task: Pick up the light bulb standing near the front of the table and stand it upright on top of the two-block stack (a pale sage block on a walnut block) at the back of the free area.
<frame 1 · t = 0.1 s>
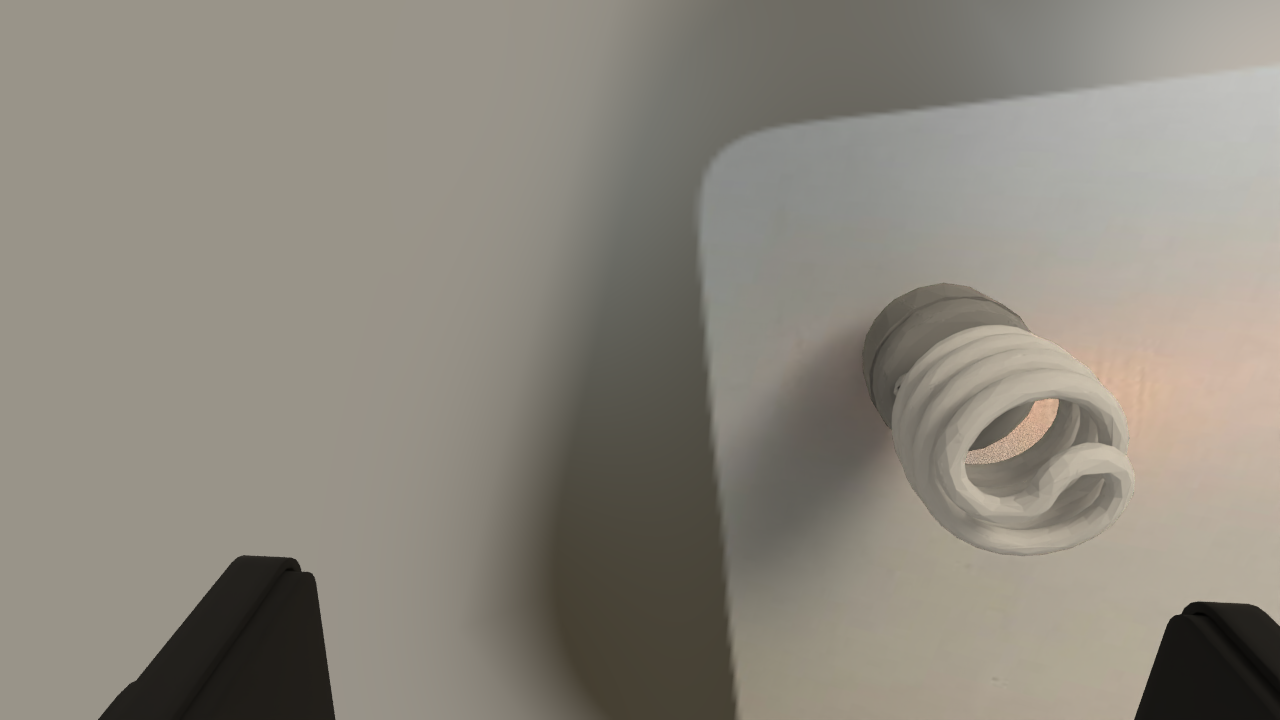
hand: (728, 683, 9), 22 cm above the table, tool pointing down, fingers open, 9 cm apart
light bulb: (913, 324, 31), on the table
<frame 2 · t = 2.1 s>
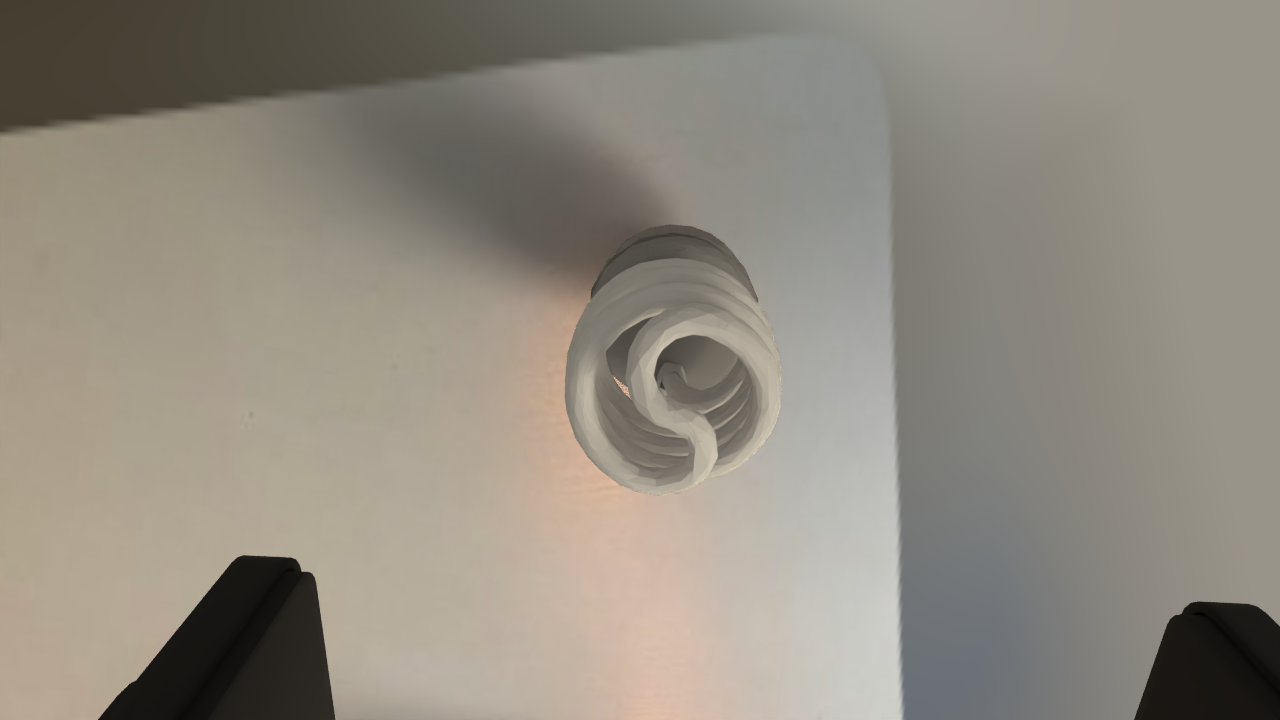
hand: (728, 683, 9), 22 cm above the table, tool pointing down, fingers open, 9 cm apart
light bulb: (673, 274, 30), on the table
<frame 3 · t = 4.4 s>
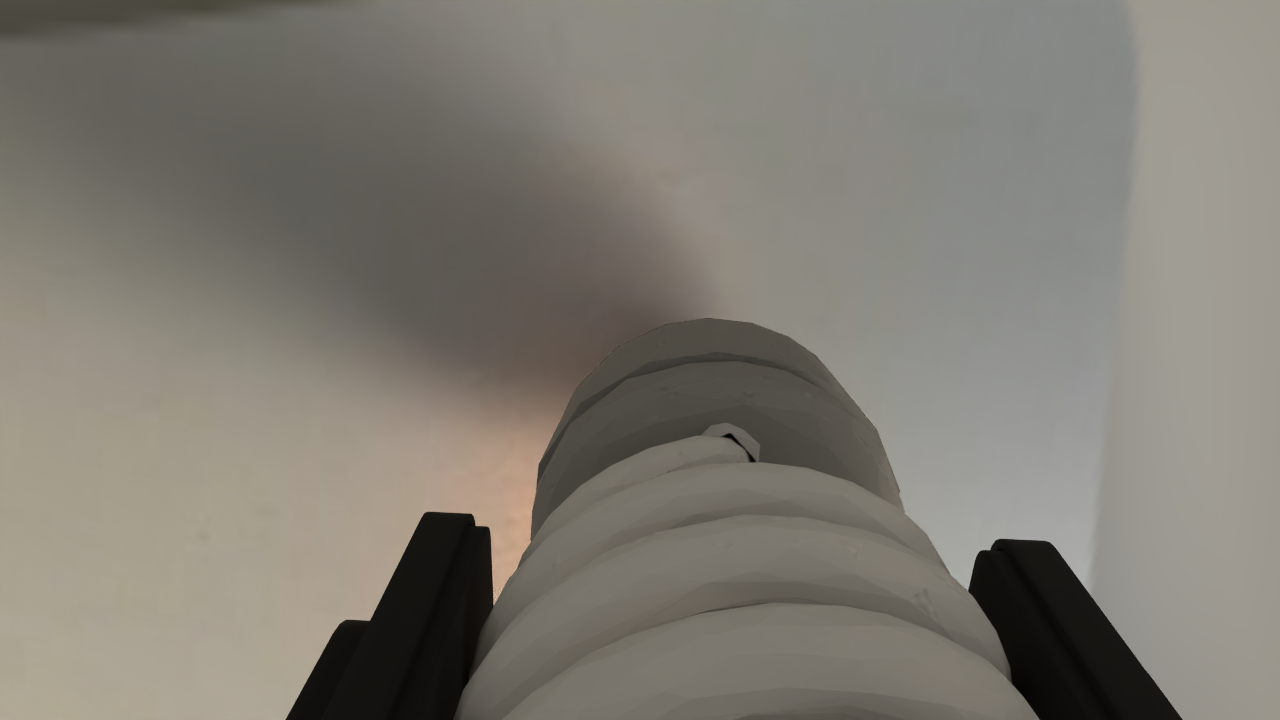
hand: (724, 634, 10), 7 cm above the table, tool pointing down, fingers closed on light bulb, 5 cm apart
light bulb: (702, 389, 16), on the table, touching gripper
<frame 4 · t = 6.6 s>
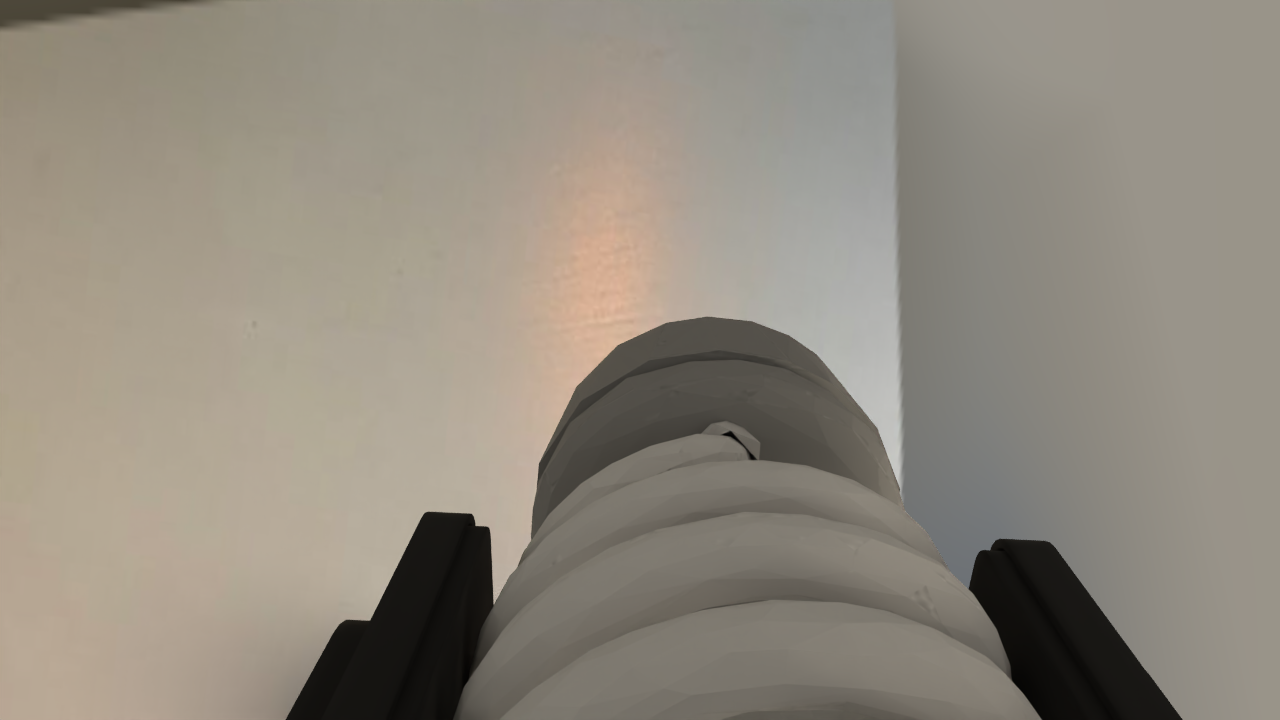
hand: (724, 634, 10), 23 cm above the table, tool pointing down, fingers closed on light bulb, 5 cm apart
light bulb: (702, 388, 16), point 16 cm above the table, touching gripper
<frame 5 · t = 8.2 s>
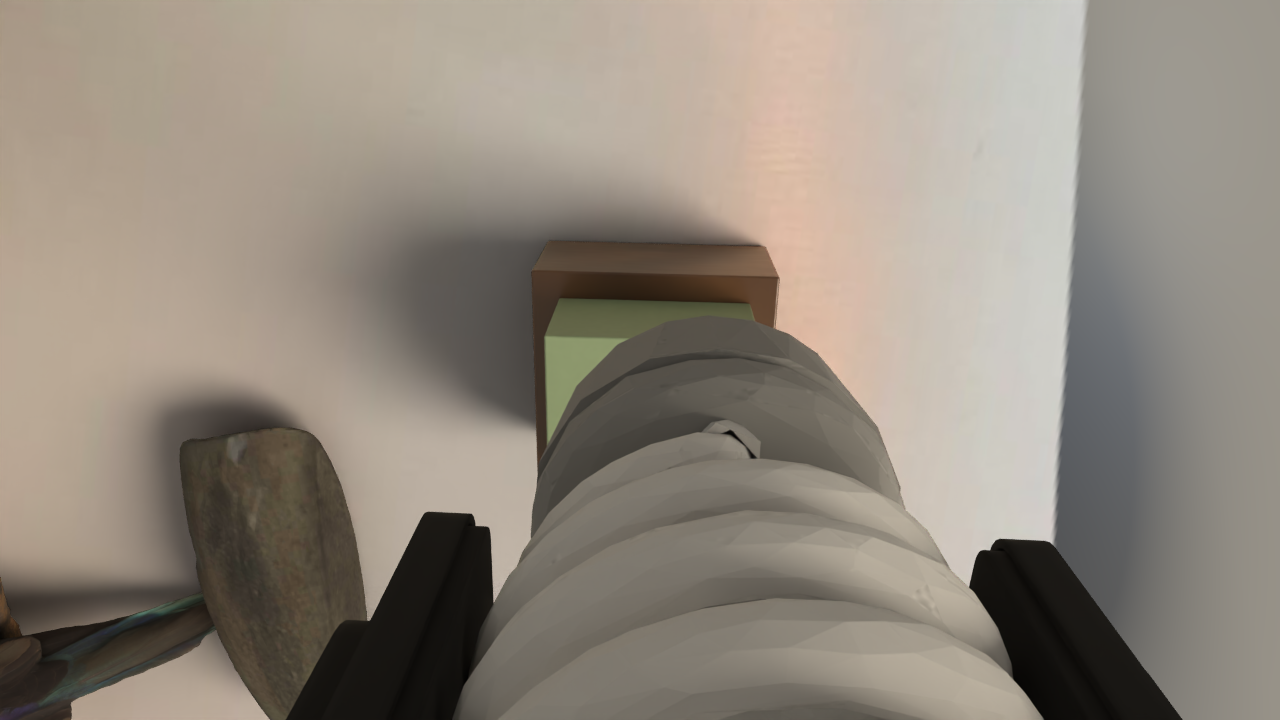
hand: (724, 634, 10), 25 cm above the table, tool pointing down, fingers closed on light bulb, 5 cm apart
decorative stone: (309, 561, 41), on the table
light bulb: (702, 387, 16), point 18 cm above the table, touching gripper
top block: (651, 387, 31), point 4 cm above the table, touching base block
bird figurine: (45, 614, 42), on the table
base block: (653, 344, 36), on the table, touching top block
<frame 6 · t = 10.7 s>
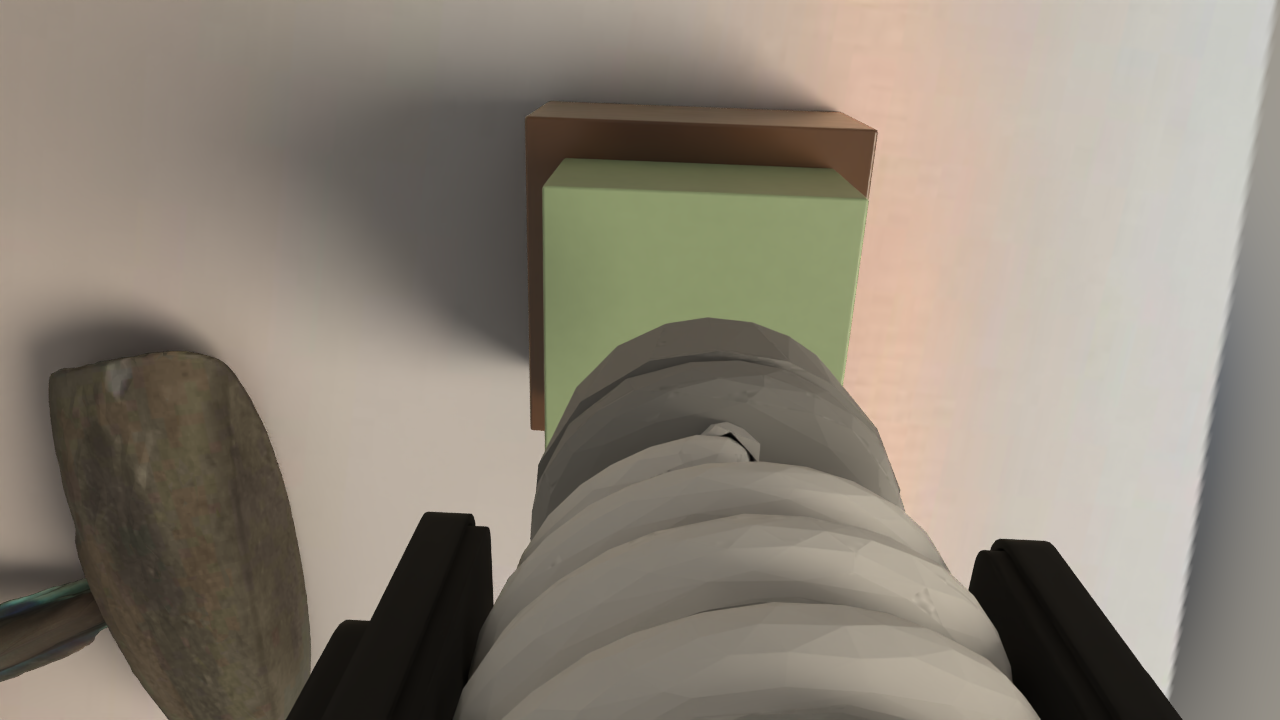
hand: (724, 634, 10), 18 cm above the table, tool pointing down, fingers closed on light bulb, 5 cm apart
decorative stone: (233, 534, 32), on the table
light bulb: (702, 389, 16), point 11 cm above the table, touching gripper
top block: (690, 292, 23), point 4 cm above the table, touching base block
base block: (687, 250, 27), on the table, touching top block
when the fingers open (15 cm above the table, at t = 12.0 s): light bulb stays where it is, resting on top block.
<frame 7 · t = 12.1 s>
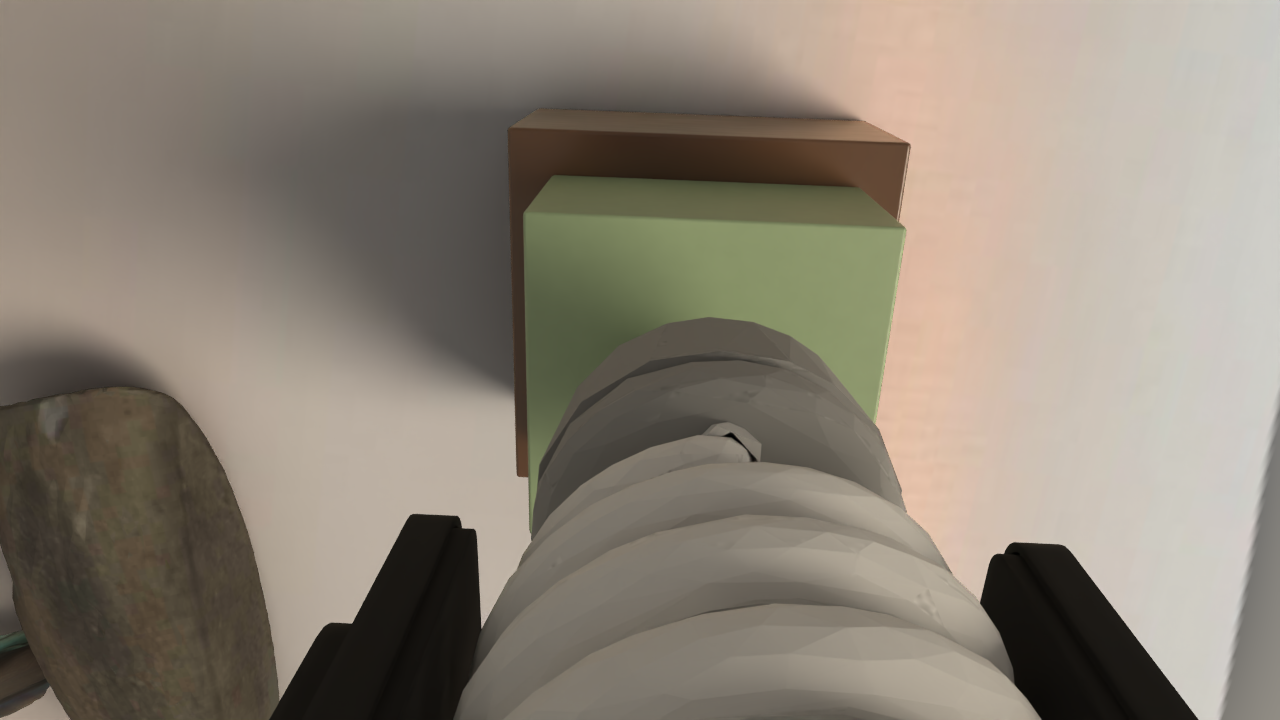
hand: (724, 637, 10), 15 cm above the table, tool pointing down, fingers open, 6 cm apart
decorative stone: (193, 580, 29), on the table
light bulb: (703, 389, 16), point 8 cm above the table, touching top block
top block: (696, 325, 20), point 4 cm above the table, touching base block, light bulb
base block: (691, 273, 24), on the table, touching top block
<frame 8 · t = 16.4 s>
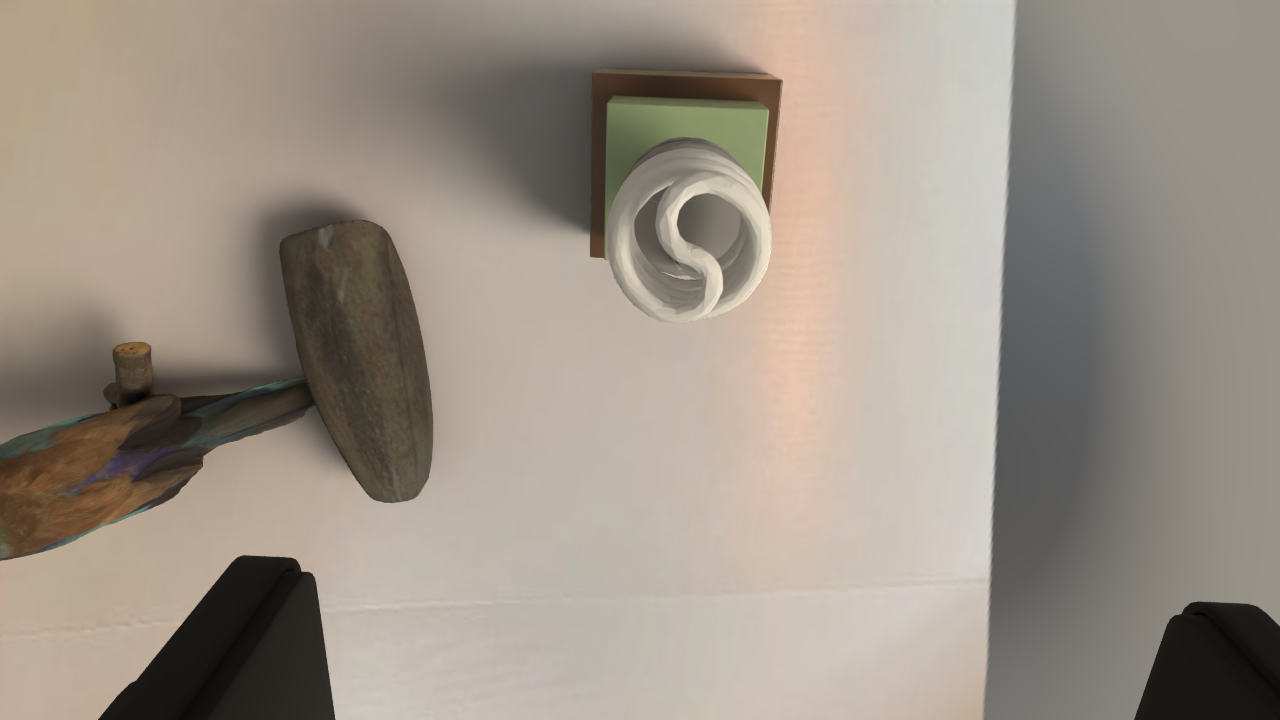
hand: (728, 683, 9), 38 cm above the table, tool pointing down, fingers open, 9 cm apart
decorative stone: (382, 352, 50), on the table, touching bird figurine
light bulb: (684, 186, 37), point 8 cm above the table, touching top block
top block: (682, 172, 40), point 4 cm above the table, touching base block, light bulb
bird figurine: (171, 399, 51), on the table, touching decorative stone
base block: (680, 158, 45), on the table, touching top block
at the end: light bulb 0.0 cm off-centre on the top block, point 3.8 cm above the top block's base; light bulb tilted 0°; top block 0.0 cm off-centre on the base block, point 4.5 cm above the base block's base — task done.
